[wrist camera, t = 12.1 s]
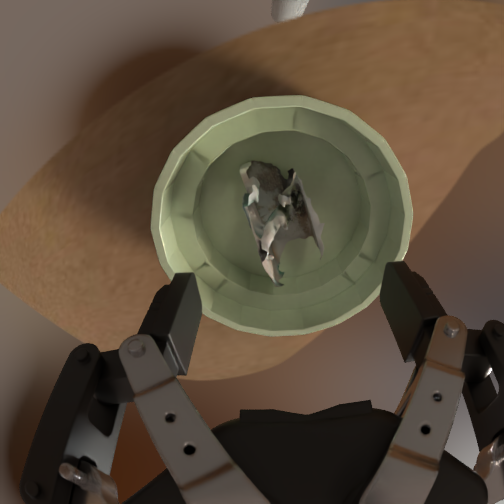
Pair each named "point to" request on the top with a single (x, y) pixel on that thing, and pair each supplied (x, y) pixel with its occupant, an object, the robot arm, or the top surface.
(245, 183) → the crumpled paper
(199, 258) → the bowl
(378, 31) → the top surface
